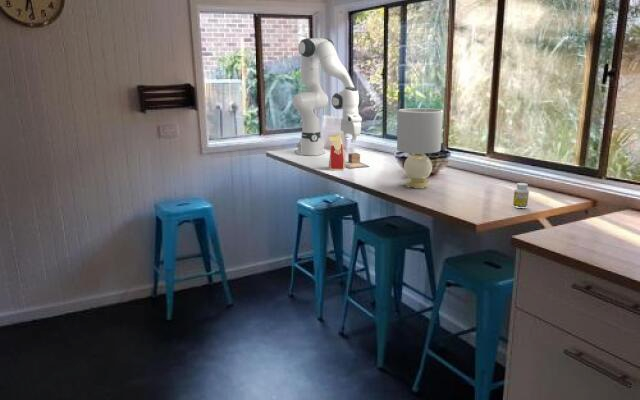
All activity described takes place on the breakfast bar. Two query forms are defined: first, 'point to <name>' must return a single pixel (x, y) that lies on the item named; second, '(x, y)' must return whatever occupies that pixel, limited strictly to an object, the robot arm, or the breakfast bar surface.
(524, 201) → the supplement bottle
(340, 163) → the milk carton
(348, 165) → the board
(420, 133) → the lamp
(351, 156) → the brown wooden cube
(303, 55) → the robot arm
